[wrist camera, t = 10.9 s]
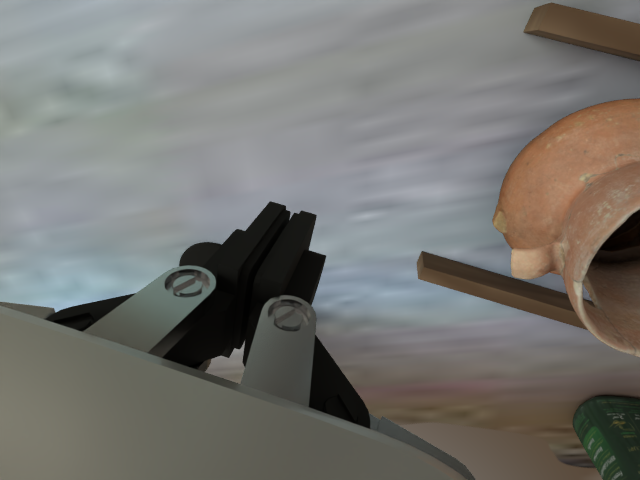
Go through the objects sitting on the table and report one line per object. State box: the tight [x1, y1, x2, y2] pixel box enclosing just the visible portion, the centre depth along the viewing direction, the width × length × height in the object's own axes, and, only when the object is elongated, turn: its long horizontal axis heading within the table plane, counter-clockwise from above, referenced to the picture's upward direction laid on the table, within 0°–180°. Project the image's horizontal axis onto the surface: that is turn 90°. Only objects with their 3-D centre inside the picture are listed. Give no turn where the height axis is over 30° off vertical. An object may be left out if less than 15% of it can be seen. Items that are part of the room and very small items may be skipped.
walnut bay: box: [417, 3, 640, 330], centre depth 28 cm, size 23×25×3 cm
